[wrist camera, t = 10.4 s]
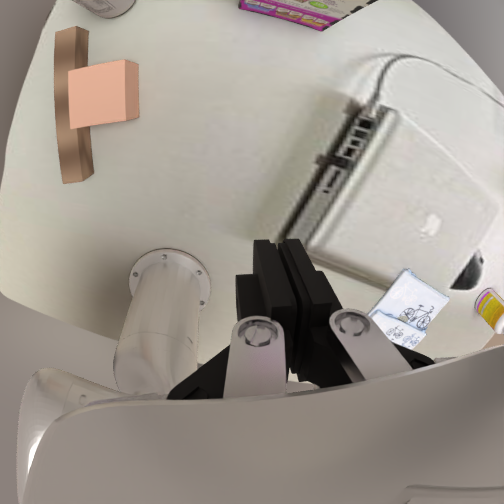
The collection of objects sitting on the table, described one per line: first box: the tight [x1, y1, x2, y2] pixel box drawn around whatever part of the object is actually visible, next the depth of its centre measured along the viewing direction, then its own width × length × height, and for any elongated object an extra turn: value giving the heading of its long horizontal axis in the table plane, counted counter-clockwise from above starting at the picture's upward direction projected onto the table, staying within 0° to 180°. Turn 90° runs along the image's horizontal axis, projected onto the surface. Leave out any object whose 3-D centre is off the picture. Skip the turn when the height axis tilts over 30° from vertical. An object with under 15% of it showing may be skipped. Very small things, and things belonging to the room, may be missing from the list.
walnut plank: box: [54, 26, 94, 184], centre depth 30 cm, size 20×3×4 cm, turn 179°
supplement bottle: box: [475, 289, 504, 334], centre depth 52 cm, size 7×7×13 cm
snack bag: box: [367, 269, 450, 350], centre depth 55 cm, size 19×20×2 cm
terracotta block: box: [68, 60, 139, 129], centre depth 29 cm, size 7×7×6 cm
